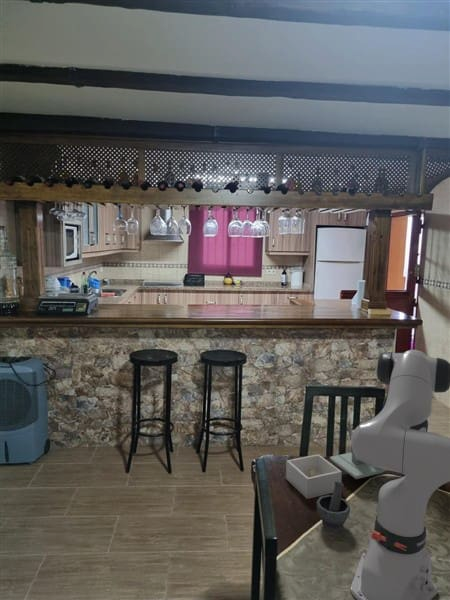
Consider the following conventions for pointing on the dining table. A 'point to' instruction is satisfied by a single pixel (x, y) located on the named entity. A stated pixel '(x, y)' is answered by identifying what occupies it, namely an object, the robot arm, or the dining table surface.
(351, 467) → the lid
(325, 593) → the dining table surface
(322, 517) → the mortar and pestle
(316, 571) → the dining table surface
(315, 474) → the tub
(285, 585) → the dining table surface
